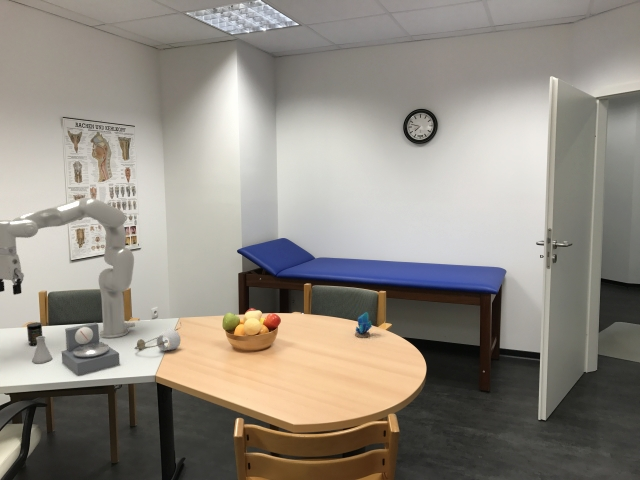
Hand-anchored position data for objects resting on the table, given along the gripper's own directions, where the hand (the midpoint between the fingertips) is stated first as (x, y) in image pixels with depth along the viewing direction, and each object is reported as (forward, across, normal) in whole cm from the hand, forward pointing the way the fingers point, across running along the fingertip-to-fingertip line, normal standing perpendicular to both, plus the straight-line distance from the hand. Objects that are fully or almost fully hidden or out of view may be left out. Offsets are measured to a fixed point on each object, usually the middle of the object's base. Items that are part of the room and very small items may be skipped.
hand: (8, 292), depth 207 cm
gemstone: (+27, -125, -83) cm, 152 cm away
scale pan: (+22, -35, -7) cm, 42 cm away
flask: (+28, -12, -3) cm, 31 cm away
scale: (+28, -33, -8) cm, 44 cm away
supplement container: (+28, +8, -17) cm, 34 cm away
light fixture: (+28, -47, -42) cm, 69 cm away
